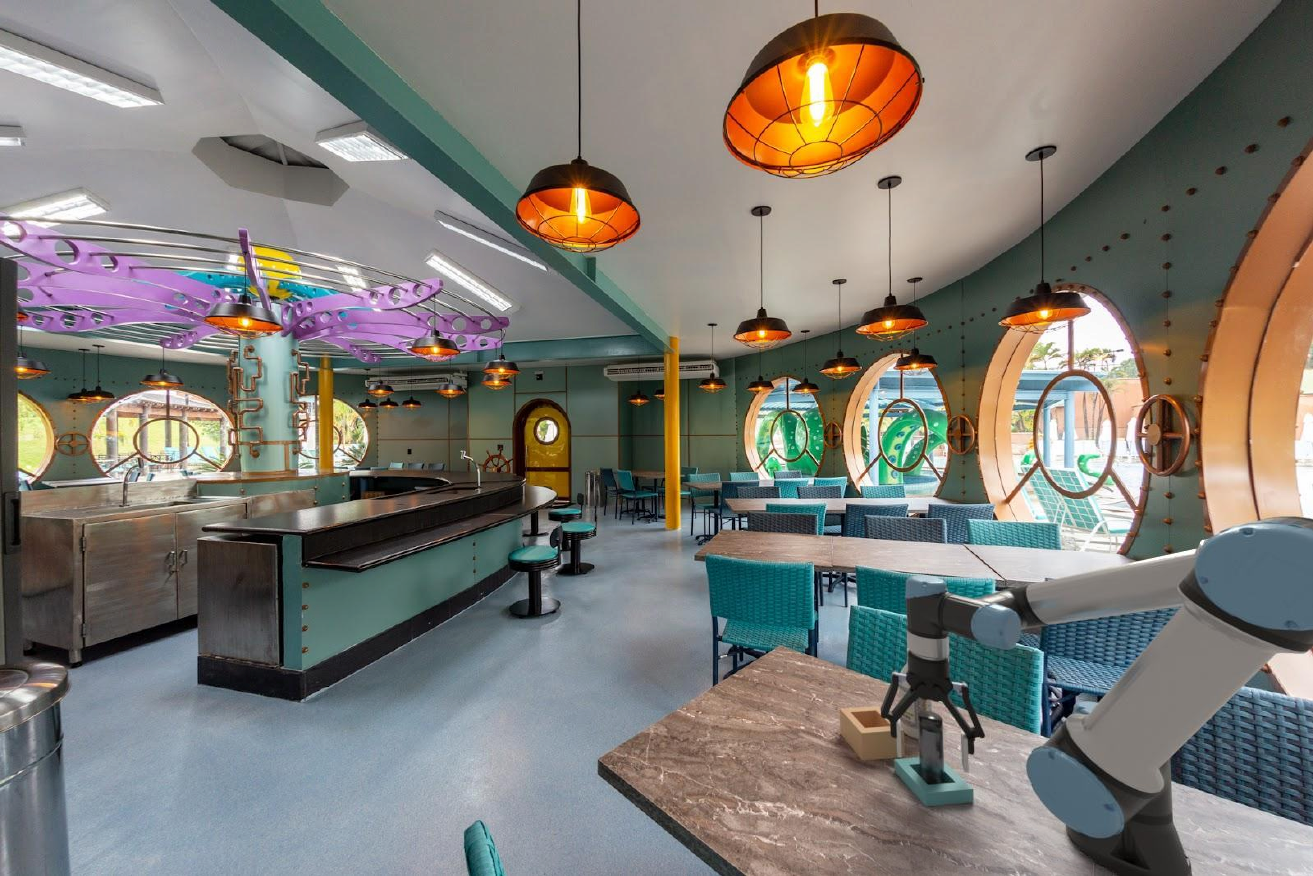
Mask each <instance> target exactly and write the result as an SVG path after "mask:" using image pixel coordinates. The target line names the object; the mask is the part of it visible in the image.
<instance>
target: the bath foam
mask: <svg viewBox="0 0 1313 876" xmlns="http://www.w3.org/2000/svg"><path fill="white" fill-rule="evenodd" d="M908 650H909V649H908V647H906V661H907V662H906V664H905V665H904V666H903V668H902V669H900V670H901V671H900V673H901V674H906V673H907V671H908V653H907V652H908ZM909 688H910V685H909V684H908V683H907V681H903V684H902V685H899V687H898V703H899V702H900V700H901V699H902V698H903V697H904V695H905V694H906V693H907V692H908V689H909ZM932 702H933V701H932V700H923V699H921V698H920V697H919V698H918V699H917V700H916V701H915V702H913V703H912V705H911V706H910V707H909V708H908V709H907V711H906V712H905V713H904V714H903V715H902V717H901V718H900V724H901V728H902V729H903V730H904V735H907V736H908V737H910V738H913V739H915V740H916V739H917V740H919V736H918V712H920V711H930V712H933V705H932Z"/></svg>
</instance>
